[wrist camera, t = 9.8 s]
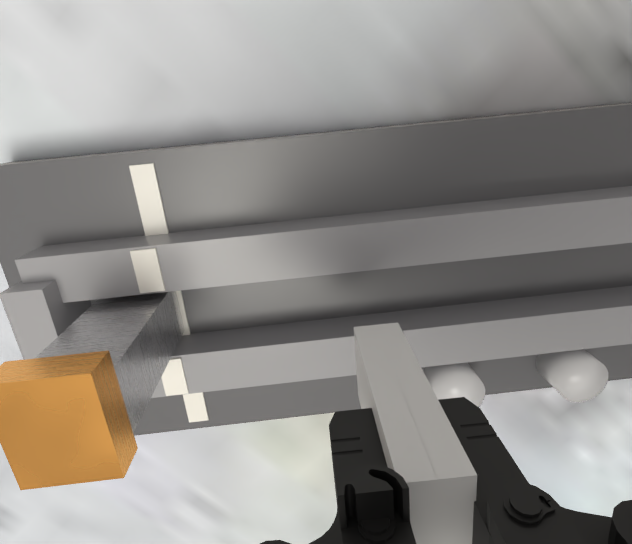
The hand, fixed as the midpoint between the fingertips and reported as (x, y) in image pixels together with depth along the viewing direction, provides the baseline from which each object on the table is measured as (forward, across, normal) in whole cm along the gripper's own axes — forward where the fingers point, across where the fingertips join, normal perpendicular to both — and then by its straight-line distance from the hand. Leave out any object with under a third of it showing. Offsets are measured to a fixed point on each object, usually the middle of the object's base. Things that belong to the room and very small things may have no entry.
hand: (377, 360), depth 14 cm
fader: (+6, +10, 0) cm, 11 cm away
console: (+9, -1, 0) cm, 9 cm away
